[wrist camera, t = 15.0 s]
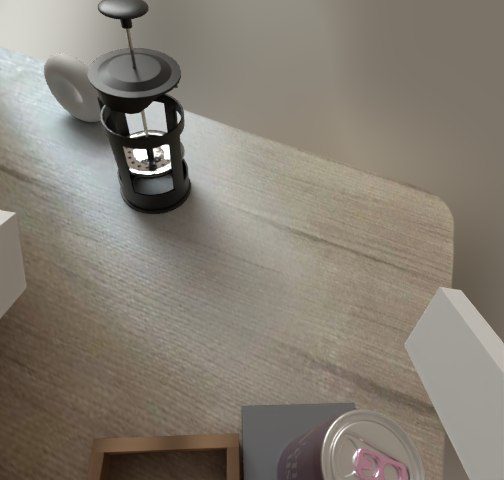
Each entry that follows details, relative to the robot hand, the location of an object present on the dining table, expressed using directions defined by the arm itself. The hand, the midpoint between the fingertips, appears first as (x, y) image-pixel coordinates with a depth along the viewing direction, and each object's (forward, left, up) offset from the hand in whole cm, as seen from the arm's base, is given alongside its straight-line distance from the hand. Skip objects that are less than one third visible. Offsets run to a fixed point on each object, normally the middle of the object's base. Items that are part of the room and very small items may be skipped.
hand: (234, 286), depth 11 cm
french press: (-9, +30, -27) cm, 41 cm away
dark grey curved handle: (-21, +44, -27) cm, 56 cm away
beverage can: (+8, -5, -27) cm, 28 cm away
